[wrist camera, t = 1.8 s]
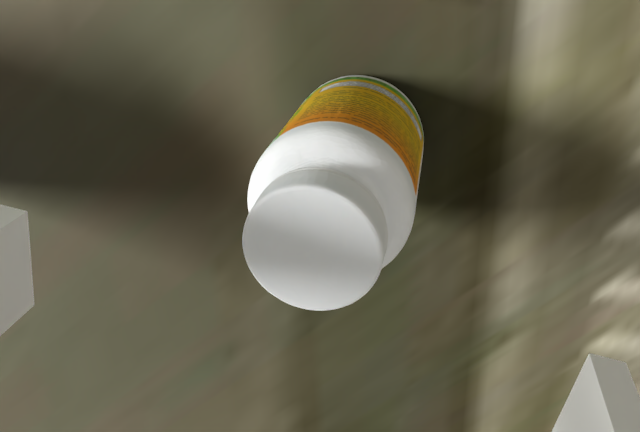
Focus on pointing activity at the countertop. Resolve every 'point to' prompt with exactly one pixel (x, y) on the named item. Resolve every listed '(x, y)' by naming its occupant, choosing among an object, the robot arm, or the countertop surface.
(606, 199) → the countertop surface
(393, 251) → the supplement bottle
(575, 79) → the countertop surface
